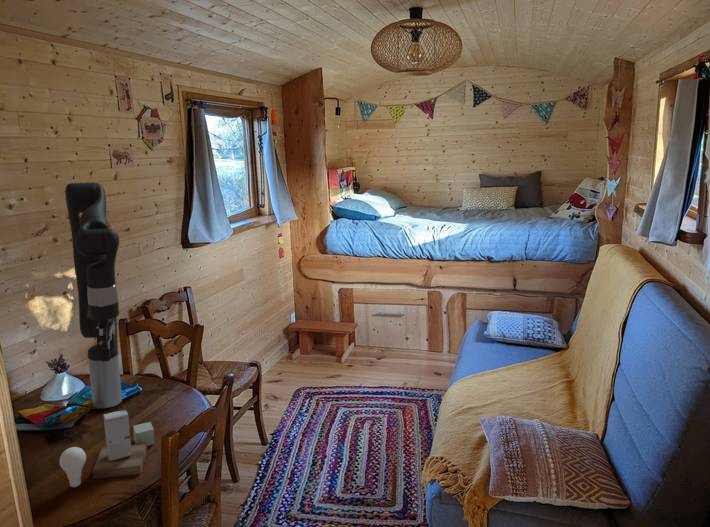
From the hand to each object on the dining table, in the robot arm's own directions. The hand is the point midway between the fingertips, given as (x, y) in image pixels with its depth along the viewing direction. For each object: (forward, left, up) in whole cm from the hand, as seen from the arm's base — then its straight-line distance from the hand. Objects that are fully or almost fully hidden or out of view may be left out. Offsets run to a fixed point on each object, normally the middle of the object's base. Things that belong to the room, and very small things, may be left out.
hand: (108, 354), depth 152 cm
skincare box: (+9, +3, -27) cm, 28 cm away
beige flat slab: (+9, +3, -30) cm, 31 cm away
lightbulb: (+17, -7, -30) cm, 35 cm away
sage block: (-1, +8, -29) cm, 30 cm away
